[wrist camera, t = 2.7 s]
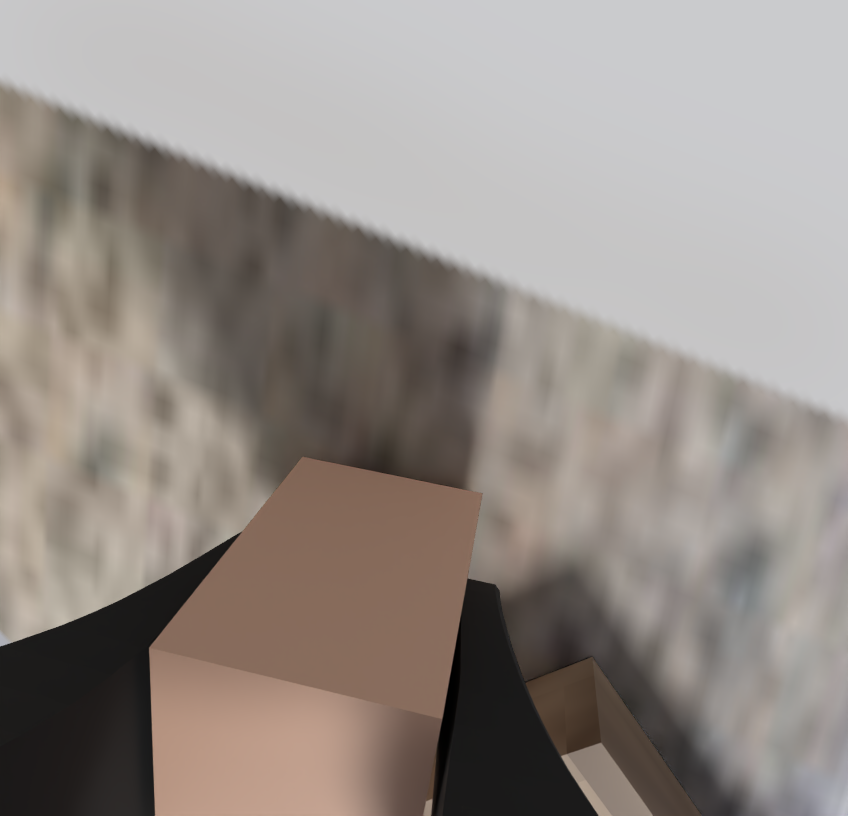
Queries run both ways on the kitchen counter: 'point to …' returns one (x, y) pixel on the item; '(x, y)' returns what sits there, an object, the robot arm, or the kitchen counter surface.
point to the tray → (602, 746)
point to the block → (316, 652)
